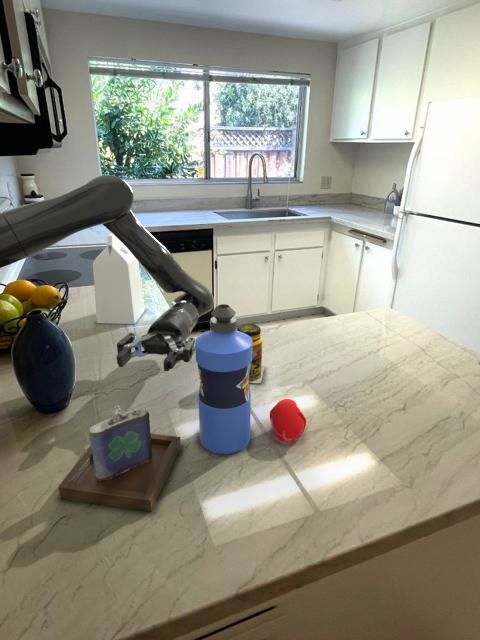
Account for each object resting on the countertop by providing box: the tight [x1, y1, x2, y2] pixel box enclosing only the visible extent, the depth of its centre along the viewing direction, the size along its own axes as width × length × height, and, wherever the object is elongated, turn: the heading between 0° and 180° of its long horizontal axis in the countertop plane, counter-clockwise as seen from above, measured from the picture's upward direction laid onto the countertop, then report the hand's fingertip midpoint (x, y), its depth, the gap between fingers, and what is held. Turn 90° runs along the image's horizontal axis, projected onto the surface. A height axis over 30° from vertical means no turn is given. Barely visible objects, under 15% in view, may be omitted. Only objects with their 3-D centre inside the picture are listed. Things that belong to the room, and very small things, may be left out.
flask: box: [88, 405, 152, 481], centre depth 62 cm, size 9×3×11 cm, turn 127°
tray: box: [58, 433, 182, 513], centre depth 64 cm, size 14×14×2 cm
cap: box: [269, 398, 307, 443], centre depth 72 cm, size 8×6×6 cm
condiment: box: [236, 323, 265, 384], centre depth 91 cm, size 7×8×12 cm
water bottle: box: [194, 304, 252, 455], centre depth 68 cm, size 9×9×25 cm
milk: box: [92, 232, 146, 325], centre depth 123 cm, size 12×12×26 cm
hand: (142, 364), depth 71 cm, fingers open, 8 cm apart
